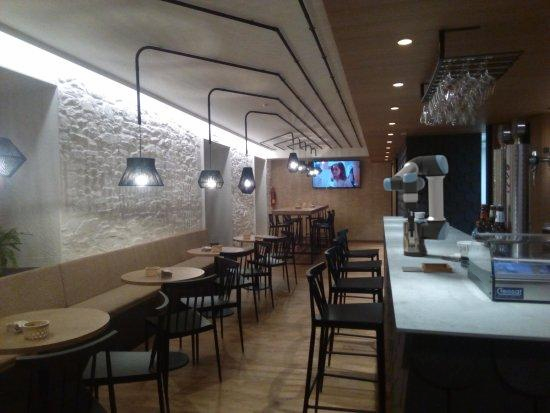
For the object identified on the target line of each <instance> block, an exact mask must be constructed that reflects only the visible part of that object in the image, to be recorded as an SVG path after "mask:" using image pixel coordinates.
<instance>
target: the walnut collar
mask: <svg viewBox="0 0 550 413" xmlns="http://www.w3.org/2000/svg"><path fill="white" fill-rule="evenodd" d="M421 270H422V272H424V273H428V274H429V273H431V274H432V273H433V274H435V273H436V274H444V273H445V274H453V268H452V266H451V265H450V263H449V262H446V263H445V262H444V263H443V262H442V263H441V262H440V263H439V262H436V263H435V262H434V263H433V262H432V263H431V262H428V263H427V262H422V263H421Z"/></svg>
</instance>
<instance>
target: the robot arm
mask: <svg viewBox="0 0 550 413" xmlns="http://www.w3.org/2000/svg"><path fill="white" fill-rule="evenodd" d="M448 173H449V164H448V159H447V158H446V156H444V155H442V154H441V155H439V154H437V155H425V156H423V155H422V156H421V155H420V156H417V157H415V158H412V159H411V160H409V161H407V162H406V163H405V164H404V166H403V168H401V169H400V170H399V171H398V172H397V173H396V174H395V175H393V177H387V178H384V179H383V188H384V190H385V191H390V192H394V191H395V192H397V191H400V192H401V191H403V192H402V193H403V195H402V196H401V197H402V198H403V202H402V203H403V209H405V210H407V211H406V219H407V222H409V230H408V231H409V243H415V242H414V230H415V229H414V222H417V223H419V252H406V251H404V250H403V255H404V256H406V257H425V256H426V257H427V256H428V255H429V252H428V250H427V246H426V244H425V240H429V241H431V240H433V241H445V240H446V239H447V238H448V236H449V233H450V223H449V222H448V221H447V218H445V216H444V178H445V177H446V174H448ZM418 175H425V178H426V179H427V182H428V215H429V216H428V217H427V218H426V221H425V219H424V218H423V219H415V211H414V210H416V209H418V208H419V203H418V201H419V199H418V198H419V197H418V196H419V193H418V191H420V190H423V188H424V187H425V185H426V182H425V180H424V178H422V177H421V176H418Z"/></svg>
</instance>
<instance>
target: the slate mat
mask: <svg viewBox="0 0 550 413" xmlns="http://www.w3.org/2000/svg"><path fill="white" fill-rule="evenodd" d="M401 270H402V272H403V273H423V269H422V267H421V266H401Z"/></svg>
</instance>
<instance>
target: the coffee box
mask: <svg viewBox="0 0 550 413" xmlns="http://www.w3.org/2000/svg"><path fill="white" fill-rule="evenodd" d="M414 229H415V230H414V242H415V243H409V231H408V230H409V222H408V221H403V222H402V239H403V242H402V243H403V245H402V246H403V252H404V251H406V252H419V223H417V222H414Z"/></svg>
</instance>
